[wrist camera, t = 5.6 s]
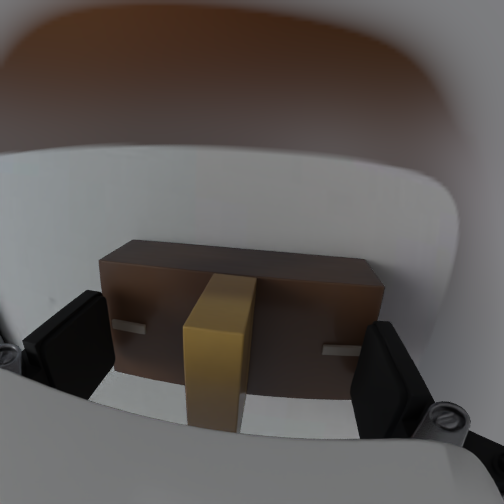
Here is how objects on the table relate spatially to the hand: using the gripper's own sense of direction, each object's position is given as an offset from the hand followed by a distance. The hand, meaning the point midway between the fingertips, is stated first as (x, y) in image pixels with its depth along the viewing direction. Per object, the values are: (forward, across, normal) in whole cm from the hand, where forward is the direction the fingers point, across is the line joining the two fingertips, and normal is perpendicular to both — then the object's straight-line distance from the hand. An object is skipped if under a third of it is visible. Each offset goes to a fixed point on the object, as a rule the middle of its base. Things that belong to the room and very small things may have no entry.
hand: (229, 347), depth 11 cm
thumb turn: (0, 0, 0) cm, 0 cm away
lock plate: (+3, 0, 0) cm, 3 cm away
